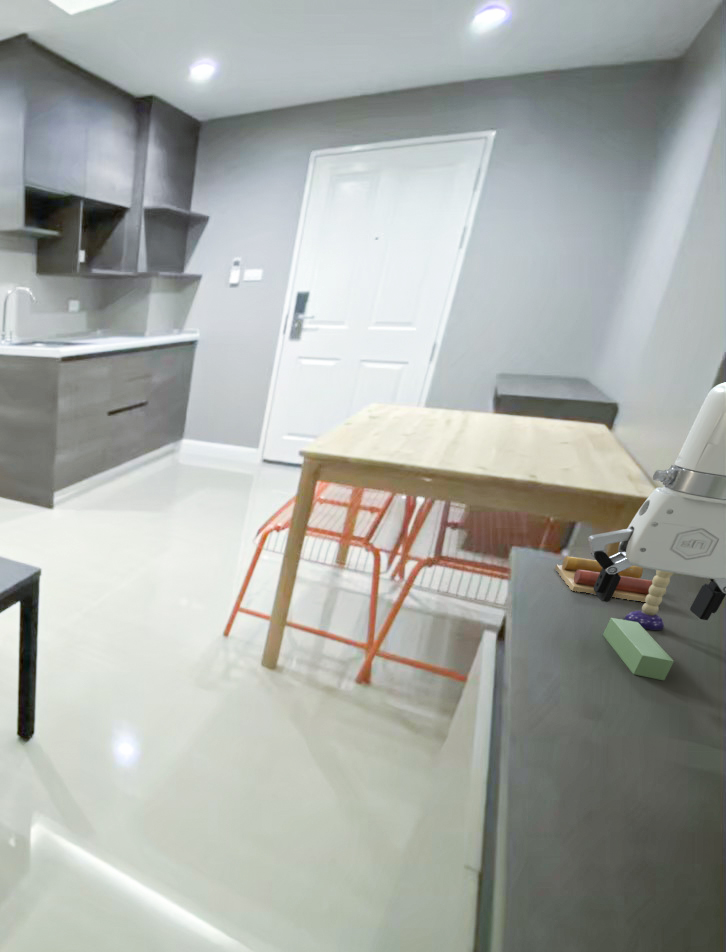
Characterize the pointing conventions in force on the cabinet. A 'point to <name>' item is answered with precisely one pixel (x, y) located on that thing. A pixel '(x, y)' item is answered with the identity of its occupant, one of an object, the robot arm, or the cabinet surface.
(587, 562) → the rod stand
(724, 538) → the robot arm
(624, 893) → the cabinet surface
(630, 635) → the bar
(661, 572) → the toy lamp
